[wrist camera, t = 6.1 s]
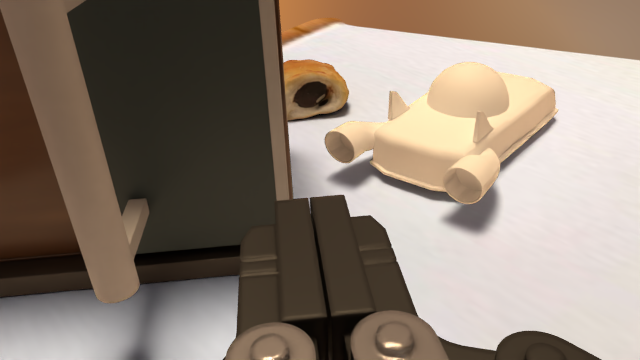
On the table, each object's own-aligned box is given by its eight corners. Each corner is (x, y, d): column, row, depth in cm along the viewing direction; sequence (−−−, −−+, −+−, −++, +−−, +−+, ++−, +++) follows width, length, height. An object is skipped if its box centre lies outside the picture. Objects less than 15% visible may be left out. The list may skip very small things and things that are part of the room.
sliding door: (300, 324, 20) (274, -30, 14) (55, 349, 20) (-93, -10, 13) (291, 233, 26) (269, -53, 19) (98, 250, 25) (8, -40, 19)
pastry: (260, 86, 49) (257, 46, 47) (329, 79, 50) (328, 40, 49) (275, 124, 41) (271, 78, 39) (356, 115, 42) (356, 70, 41)
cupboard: (298, 269, 26) (272, -95, 18) (-82, 305, 24) (-294, -70, 16) (286, 150, 37) (266, -103, 29) (27, 170, 36) (-66, -89, 28)
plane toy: (582, 112, 41) (599, 39, 38) (475, 232, 28) (489, 134, 25) (460, 88, 47) (467, 22, 44) (324, 177, 34) (321, 92, 31)
